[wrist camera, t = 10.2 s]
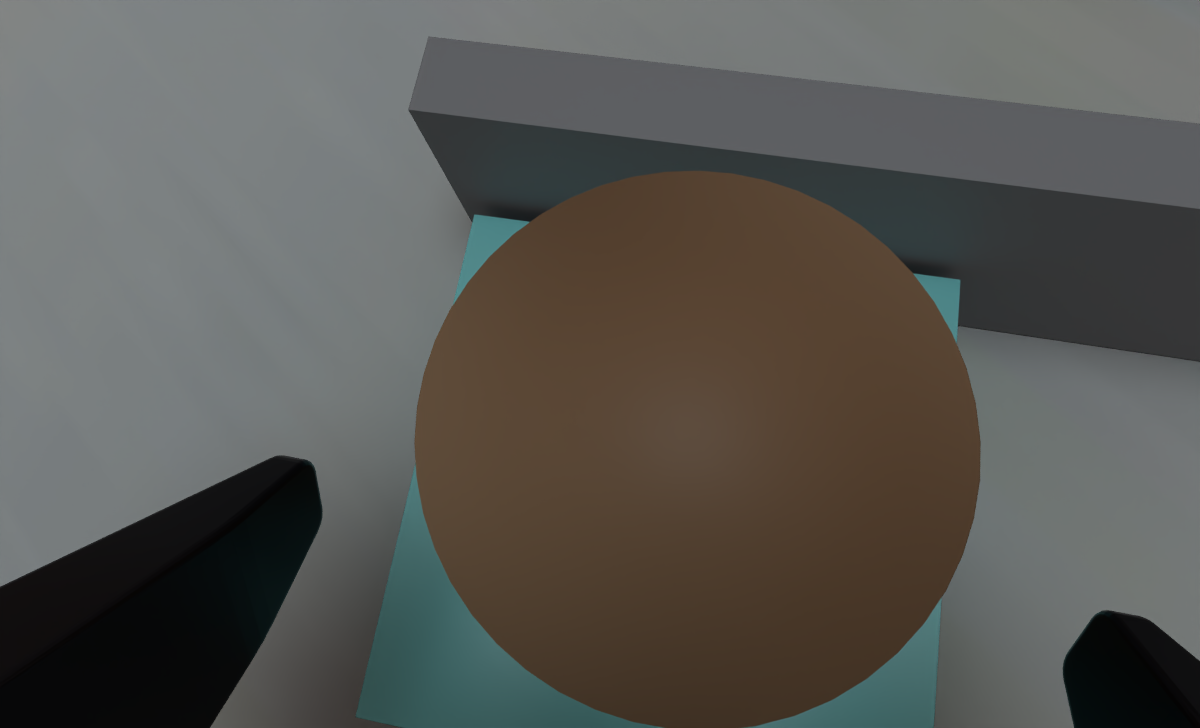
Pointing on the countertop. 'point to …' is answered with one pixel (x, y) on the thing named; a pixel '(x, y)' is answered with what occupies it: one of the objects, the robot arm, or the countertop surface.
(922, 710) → the socket block
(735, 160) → the backstop wall
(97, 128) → the countertop surface
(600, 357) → the dowel
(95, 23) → the countertop surface
